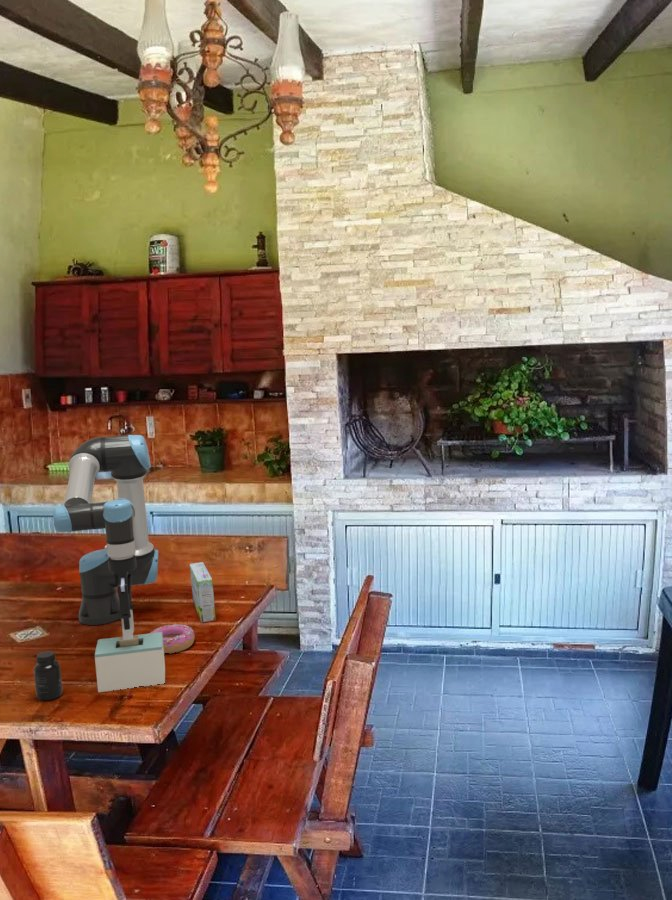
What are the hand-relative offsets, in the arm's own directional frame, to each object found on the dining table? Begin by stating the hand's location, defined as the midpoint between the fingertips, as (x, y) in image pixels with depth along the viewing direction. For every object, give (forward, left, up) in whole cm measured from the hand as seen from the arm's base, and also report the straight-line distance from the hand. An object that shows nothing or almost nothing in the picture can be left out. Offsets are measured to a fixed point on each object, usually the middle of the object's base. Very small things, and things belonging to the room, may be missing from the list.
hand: (128, 635), depth 220 cm
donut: (-21, +11, -14) cm, 28 cm away
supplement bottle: (+4, -22, -13) cm, 26 cm away
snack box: (-48, +22, -14) cm, 55 cm away
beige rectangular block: (0, 0, -8) cm, 8 cm away
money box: (0, 0, -13) cm, 13 cm away
